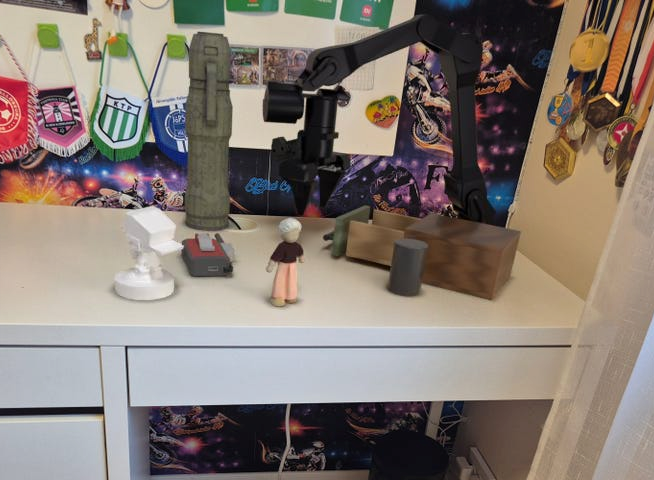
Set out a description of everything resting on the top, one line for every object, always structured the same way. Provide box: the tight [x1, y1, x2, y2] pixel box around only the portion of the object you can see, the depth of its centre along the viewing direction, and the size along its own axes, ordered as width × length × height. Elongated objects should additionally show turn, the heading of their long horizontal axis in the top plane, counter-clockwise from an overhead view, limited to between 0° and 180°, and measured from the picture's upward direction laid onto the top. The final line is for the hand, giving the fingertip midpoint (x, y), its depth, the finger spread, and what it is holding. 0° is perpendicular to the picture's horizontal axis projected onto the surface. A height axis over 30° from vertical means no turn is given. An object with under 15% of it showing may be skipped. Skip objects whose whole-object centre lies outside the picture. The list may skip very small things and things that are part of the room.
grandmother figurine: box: [265, 217, 306, 307], centre depth 94 cm, size 8×4×13 cm, turn 148°
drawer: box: [322, 205, 422, 267], centre depth 118 cm, size 19×13×7 cm
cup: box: [387, 239, 428, 297], centre depth 104 cm, size 5×5×8 cm
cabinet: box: [404, 212, 522, 301], centre depth 112 cm, size 17×15×9 cm
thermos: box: [184, 31, 234, 231], centre depth 123 cm, size 9×12×35 cm
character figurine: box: [114, 205, 184, 301], centre depth 93 cm, size 9×10×12 cm
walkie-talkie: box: [180, 232, 235, 277], centre depth 110 cm, size 9×4×20 cm
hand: (312, 211), depth 123 cm, fingers open, 9 cm apart
